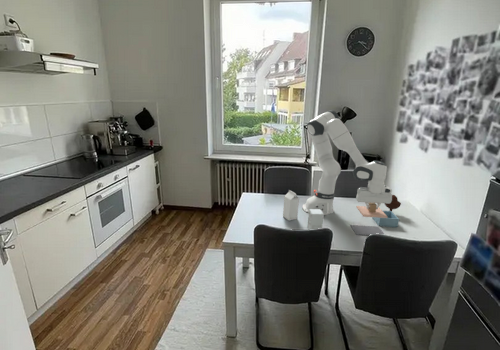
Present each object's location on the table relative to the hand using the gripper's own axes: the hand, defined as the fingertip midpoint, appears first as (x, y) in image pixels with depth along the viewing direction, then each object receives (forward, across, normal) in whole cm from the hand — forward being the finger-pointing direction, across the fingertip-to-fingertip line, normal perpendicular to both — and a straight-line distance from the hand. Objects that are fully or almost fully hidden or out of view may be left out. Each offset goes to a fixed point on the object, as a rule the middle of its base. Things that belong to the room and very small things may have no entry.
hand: (371, 208), depth 171 cm
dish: (+15, +16, +14) cm, 26 cm away
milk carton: (+15, -48, +12) cm, 52 cm away
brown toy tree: (+16, +26, +29) cm, 42 cm away
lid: (+2, 0, 0) cm, 2 cm away
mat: (+15, 0, 0) cm, 15 cm away
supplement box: (+15, -34, -3) cm, 38 cm away
